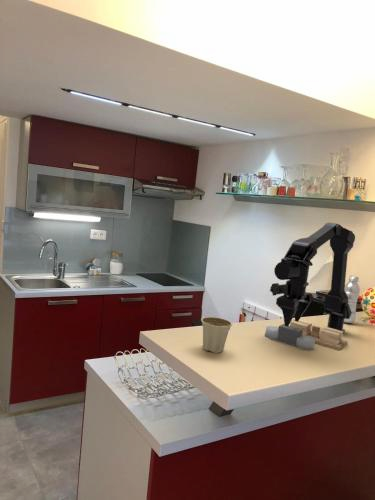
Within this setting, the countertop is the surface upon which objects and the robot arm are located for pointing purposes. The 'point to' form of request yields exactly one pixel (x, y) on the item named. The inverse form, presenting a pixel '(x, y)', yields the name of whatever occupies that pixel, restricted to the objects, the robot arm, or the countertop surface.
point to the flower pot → (215, 333)
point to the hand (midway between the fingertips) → (291, 323)
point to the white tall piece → (352, 297)
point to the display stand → (321, 334)
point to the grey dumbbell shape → (290, 336)
